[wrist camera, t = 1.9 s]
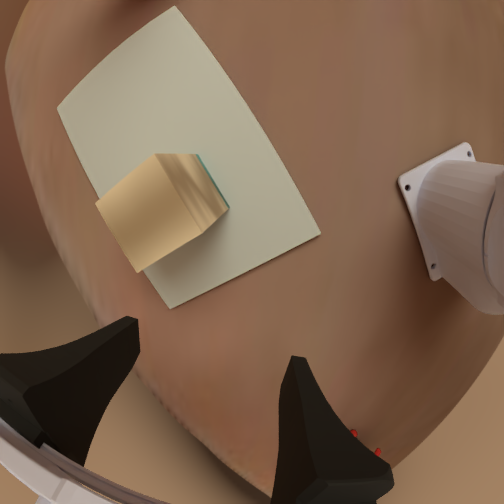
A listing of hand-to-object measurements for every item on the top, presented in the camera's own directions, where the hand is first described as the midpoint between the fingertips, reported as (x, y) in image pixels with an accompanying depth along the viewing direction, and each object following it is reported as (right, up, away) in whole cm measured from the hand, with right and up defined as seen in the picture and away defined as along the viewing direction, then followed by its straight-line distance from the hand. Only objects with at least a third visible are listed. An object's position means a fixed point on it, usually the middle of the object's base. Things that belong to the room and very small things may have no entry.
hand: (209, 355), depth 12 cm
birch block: (-3, +9, +8) cm, 12 cm away
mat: (-5, +12, +7) cm, 15 cm away
